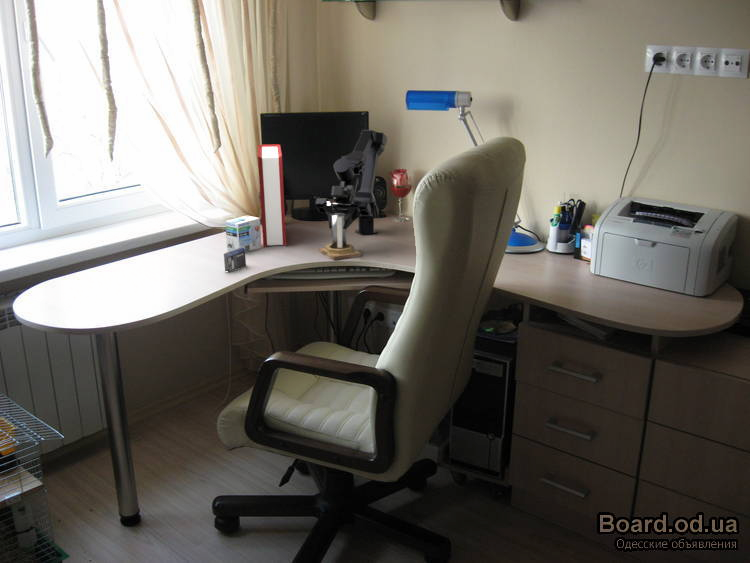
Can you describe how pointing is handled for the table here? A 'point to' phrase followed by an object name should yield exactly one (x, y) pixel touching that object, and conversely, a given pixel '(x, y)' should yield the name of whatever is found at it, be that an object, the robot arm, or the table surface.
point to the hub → (339, 252)
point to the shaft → (338, 230)
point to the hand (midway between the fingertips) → (337, 228)
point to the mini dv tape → (234, 259)
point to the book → (272, 194)
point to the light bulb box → (243, 233)
